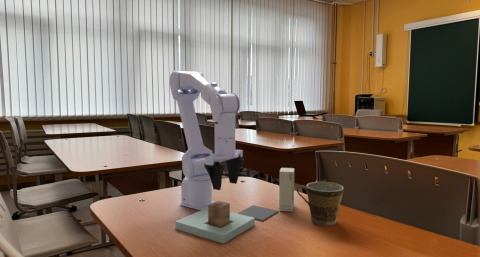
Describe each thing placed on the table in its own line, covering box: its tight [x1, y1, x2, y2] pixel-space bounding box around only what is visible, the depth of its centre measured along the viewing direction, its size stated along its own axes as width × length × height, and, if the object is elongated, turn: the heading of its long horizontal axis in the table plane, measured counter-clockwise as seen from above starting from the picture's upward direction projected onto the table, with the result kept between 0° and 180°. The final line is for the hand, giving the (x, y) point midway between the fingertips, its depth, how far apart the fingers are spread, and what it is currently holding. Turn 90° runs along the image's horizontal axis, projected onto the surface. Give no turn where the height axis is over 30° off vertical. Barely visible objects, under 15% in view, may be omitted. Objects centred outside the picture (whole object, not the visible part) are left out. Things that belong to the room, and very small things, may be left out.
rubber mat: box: [236, 205, 279, 222], centre depth 102 cm, size 9×9×1 cm
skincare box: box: [278, 167, 295, 212], centre depth 106 cm, size 6×4×12 cm
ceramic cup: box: [296, 181, 345, 227], centre depth 96 cm, size 13×10×10 cm
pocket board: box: [174, 208, 256, 244], centre depth 92 cm, size 16×14×2 cm
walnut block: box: [208, 200, 231, 228], centre depth 89 cm, size 4×4×7 cm
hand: (225, 186), depth 95 cm, fingers open, 7 cm apart
